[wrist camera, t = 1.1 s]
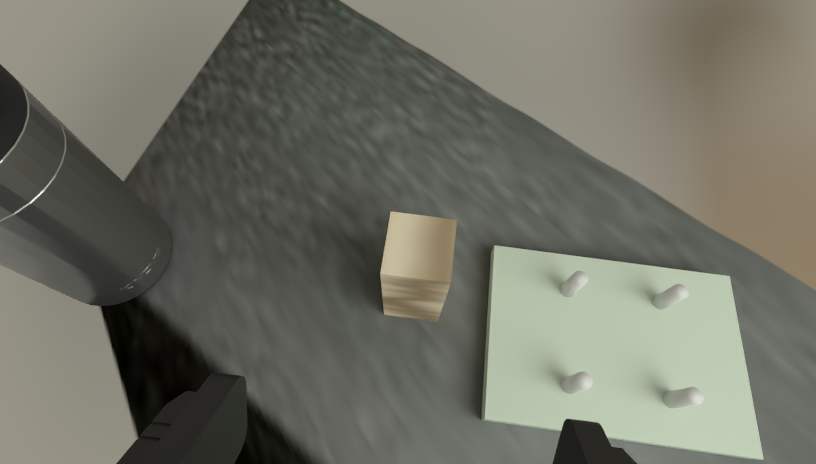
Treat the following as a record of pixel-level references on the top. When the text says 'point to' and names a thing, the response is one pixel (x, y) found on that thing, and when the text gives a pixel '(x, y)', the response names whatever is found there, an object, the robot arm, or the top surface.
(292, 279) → the top surface
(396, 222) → the ash block
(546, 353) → the peg board
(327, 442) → the top surface
